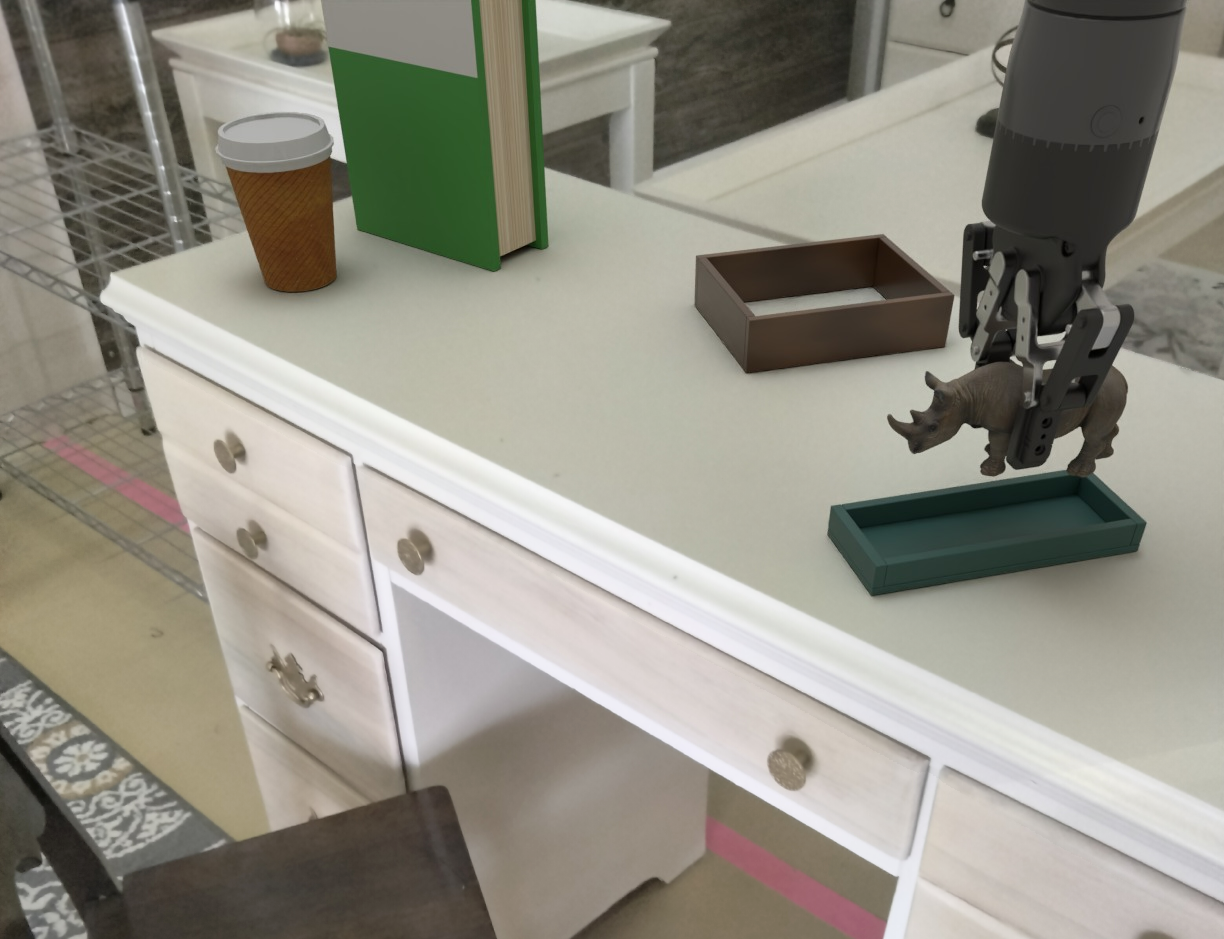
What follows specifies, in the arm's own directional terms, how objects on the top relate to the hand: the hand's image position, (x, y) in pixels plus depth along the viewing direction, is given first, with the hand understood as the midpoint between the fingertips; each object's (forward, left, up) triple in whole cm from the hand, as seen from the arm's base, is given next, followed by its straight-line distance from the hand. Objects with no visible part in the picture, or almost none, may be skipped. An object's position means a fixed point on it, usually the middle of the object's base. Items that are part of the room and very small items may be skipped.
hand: (1003, 442), depth 70 cm
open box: (-2, -33, -7) cm, 34 cm away
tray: (0, 0, -7) cm, 7 cm away
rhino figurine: (0, 0, -2) cm, 2 cm away
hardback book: (+23, -61, -7) cm, 66 cm away
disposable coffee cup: (+38, -55, -7) cm, 67 cm away
